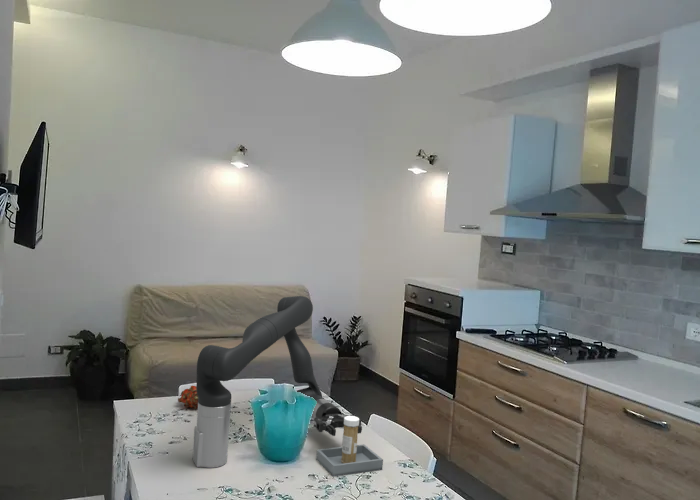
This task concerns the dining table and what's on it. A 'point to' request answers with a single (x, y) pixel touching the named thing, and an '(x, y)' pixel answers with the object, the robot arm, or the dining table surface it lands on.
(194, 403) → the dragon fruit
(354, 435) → the sprinkles bottle
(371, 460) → the box
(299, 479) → the dining table surface
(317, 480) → the dining table surface
